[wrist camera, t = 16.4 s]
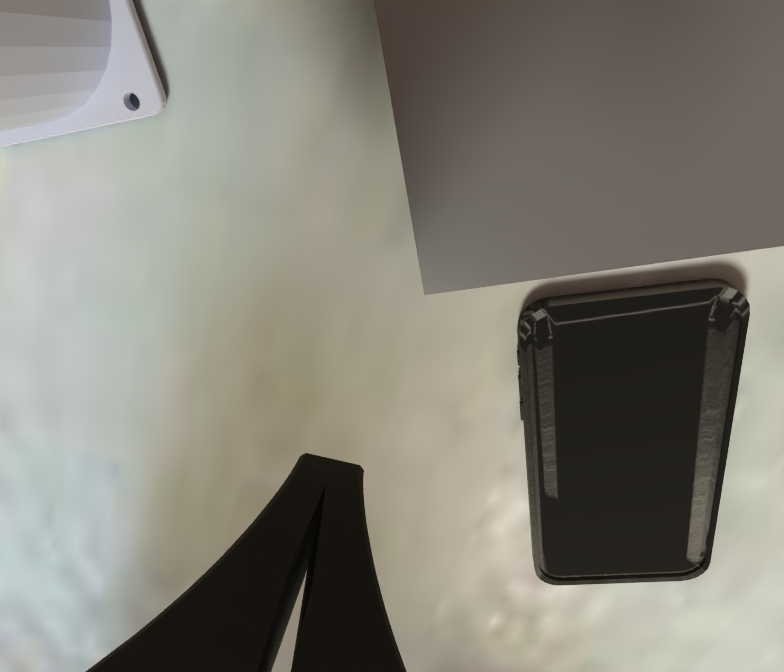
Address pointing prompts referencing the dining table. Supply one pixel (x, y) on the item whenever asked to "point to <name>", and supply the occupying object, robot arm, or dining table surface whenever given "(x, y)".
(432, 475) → the dining table surface
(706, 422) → the phone
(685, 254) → the grey drawer box
